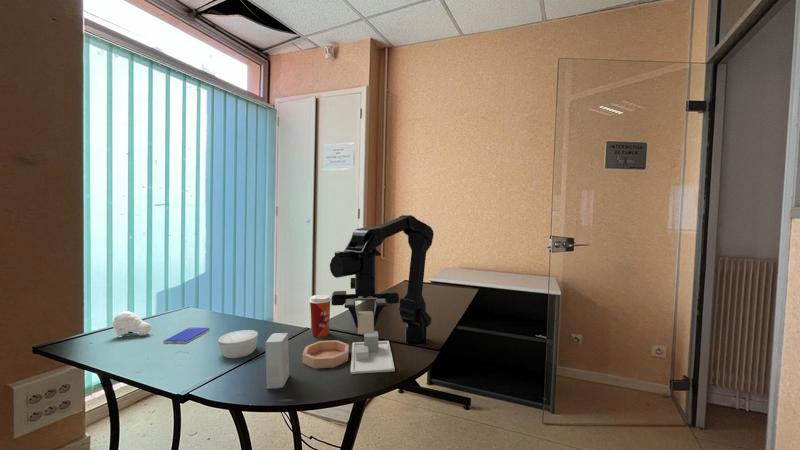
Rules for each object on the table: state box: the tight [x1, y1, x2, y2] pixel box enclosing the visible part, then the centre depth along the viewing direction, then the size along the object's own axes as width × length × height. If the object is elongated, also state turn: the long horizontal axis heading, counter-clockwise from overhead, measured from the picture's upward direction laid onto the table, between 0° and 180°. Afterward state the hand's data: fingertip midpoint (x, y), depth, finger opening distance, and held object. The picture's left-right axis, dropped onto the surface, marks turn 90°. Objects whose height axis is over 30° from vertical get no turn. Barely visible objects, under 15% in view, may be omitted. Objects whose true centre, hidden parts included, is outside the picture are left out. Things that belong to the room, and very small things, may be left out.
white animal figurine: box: [111, 310, 152, 337], centre depth 118 cm, size 6×8×12 cm
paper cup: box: [308, 294, 332, 338], centre depth 117 cm, size 8×8×14 cm
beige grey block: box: [356, 346, 369, 361], centre depth 99 cm, size 4×5×2 cm
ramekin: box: [217, 329, 259, 359], centre depth 104 cm, size 11×11×5 cm
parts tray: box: [350, 340, 395, 375], centre depth 99 cm, size 12×20×1 cm, turn 7°
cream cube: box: [357, 310, 375, 335], centre depth 94 cm, size 4×4×5 cm
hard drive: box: [163, 327, 211, 344], centre depth 117 cm, size 2×8×12 cm
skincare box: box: [264, 332, 290, 390], centre depth 85 cm, size 6×4×12 cm
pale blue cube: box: [363, 330, 379, 353], centre depth 104 cm, size 4×4×5 cm
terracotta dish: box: [302, 339, 350, 369], centre depth 98 cm, size 13×13×3 cm
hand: (365, 327), depth 94 cm, fingers closed on cream cube, 4 cm apart
